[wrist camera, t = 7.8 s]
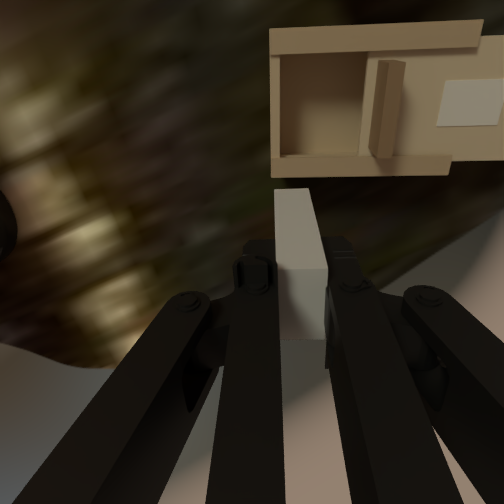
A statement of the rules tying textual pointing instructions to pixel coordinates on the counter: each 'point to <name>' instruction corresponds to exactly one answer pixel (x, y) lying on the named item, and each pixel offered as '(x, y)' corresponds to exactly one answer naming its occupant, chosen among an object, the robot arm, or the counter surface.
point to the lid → (435, 102)
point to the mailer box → (342, 95)
